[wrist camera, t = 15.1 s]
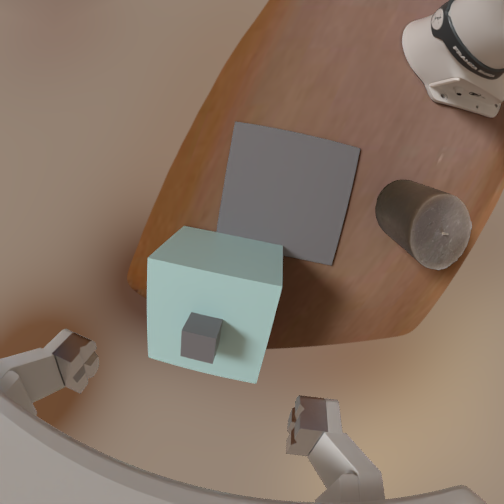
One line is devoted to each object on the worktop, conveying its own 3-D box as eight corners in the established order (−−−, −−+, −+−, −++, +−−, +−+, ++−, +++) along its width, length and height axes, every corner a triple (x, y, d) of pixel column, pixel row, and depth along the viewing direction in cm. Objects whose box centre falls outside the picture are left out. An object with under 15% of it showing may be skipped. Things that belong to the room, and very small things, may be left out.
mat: (359, 148, 40) (360, 148, 40) (331, 264, 47) (331, 265, 46) (235, 121, 41) (235, 121, 40) (215, 240, 47) (215, 241, 47)
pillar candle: (367, 189, 42) (405, 209, 28) (419, 172, 40) (471, 185, 26) (383, 246, 45) (420, 286, 31) (431, 227, 43) (480, 259, 29)
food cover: (282, 245, 46) (282, 304, 29) (263, 328, 52) (253, 404, 35) (184, 225, 46) (132, 271, 30) (177, 309, 52) (138, 374, 35)
